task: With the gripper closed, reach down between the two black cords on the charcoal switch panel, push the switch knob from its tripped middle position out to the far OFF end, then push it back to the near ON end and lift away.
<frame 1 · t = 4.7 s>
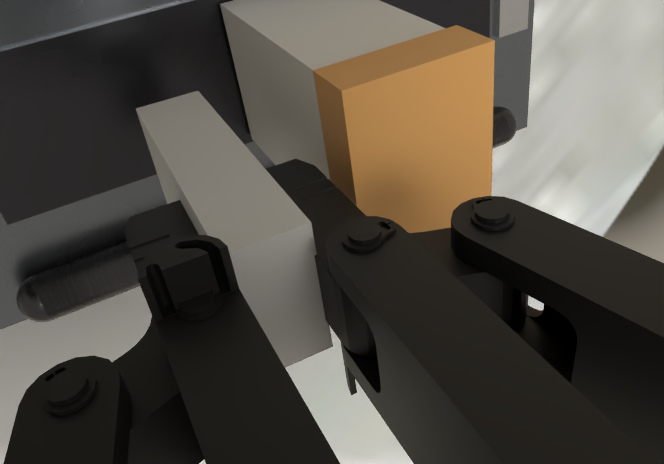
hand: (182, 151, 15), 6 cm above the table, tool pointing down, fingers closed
switch panel: (228, 37, 20), on the table
switch knob: (342, 103, 15), point 7 cm above the table, slide at 0.7 cm, touching gripper
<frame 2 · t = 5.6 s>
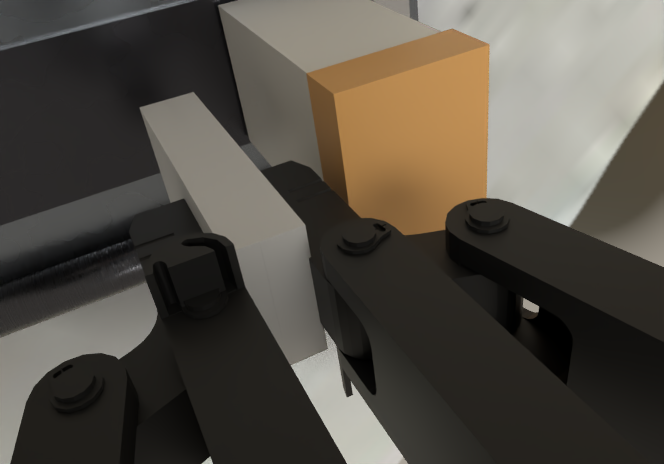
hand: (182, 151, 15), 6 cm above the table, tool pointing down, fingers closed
switch panel: (85, 77, 19), on the table
switch knob: (339, 106, 15), point 7 cm above the table, slide at 5.3 cm, touching gripper
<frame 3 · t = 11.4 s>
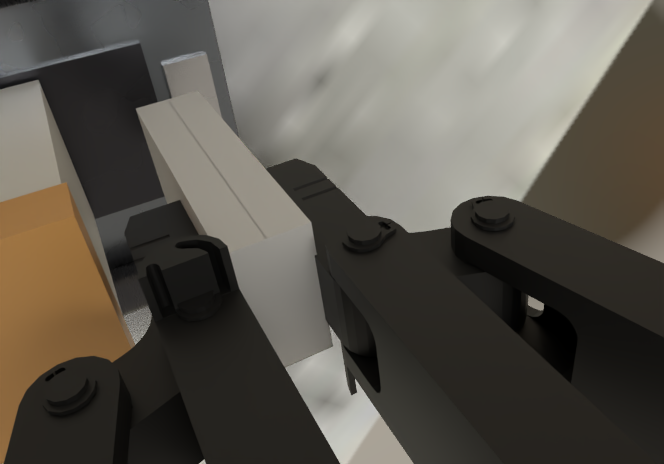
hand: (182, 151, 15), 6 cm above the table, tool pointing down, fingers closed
switch knob: (12, 242, 13), point 7 cm above the table, slide at 3.9 cm, touching gripper
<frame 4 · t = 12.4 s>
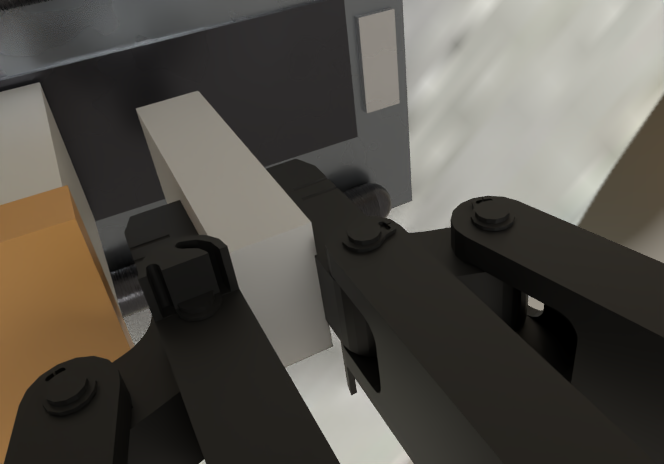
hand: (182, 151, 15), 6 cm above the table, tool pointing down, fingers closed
switch panel: (70, 108, 19), on the table
switch knob: (12, 244, 13), point 7 cm above the table, slide at -1.9 cm, touching gripper
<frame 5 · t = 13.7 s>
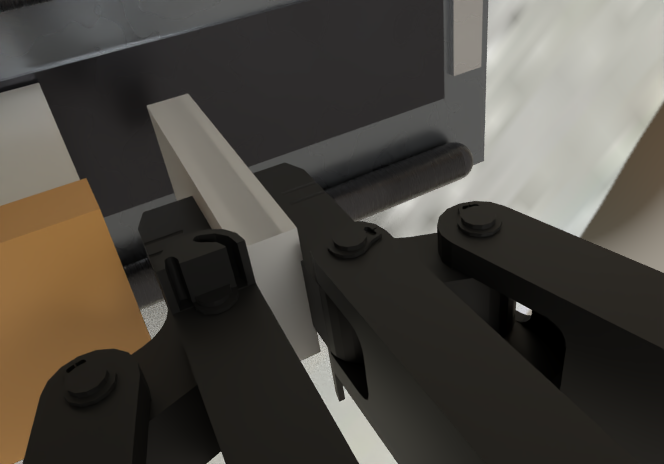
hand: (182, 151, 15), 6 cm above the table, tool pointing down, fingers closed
switch panel: (184, 75, 20), on the table
switch knob: (22, 242, 13), point 7 cm above the table, slide at -5.8 cm, touching gripper
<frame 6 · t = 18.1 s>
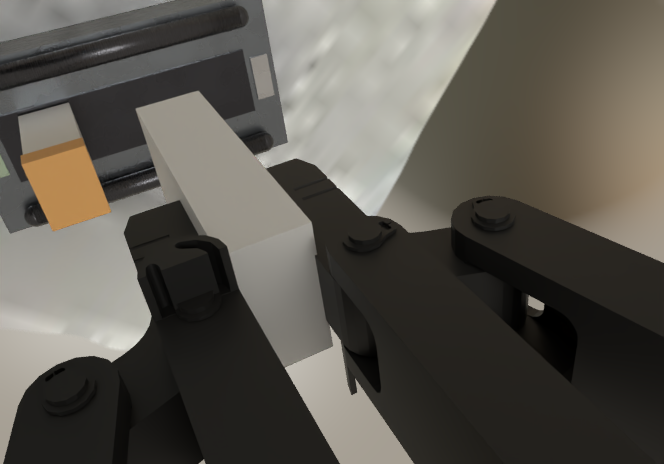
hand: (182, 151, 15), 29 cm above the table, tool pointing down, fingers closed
switch panel: (126, 98, 43), on the table
switch knob: (61, 162, 36), point 7 cm above the table, slide at -5.0 cm
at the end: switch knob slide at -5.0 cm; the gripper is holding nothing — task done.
